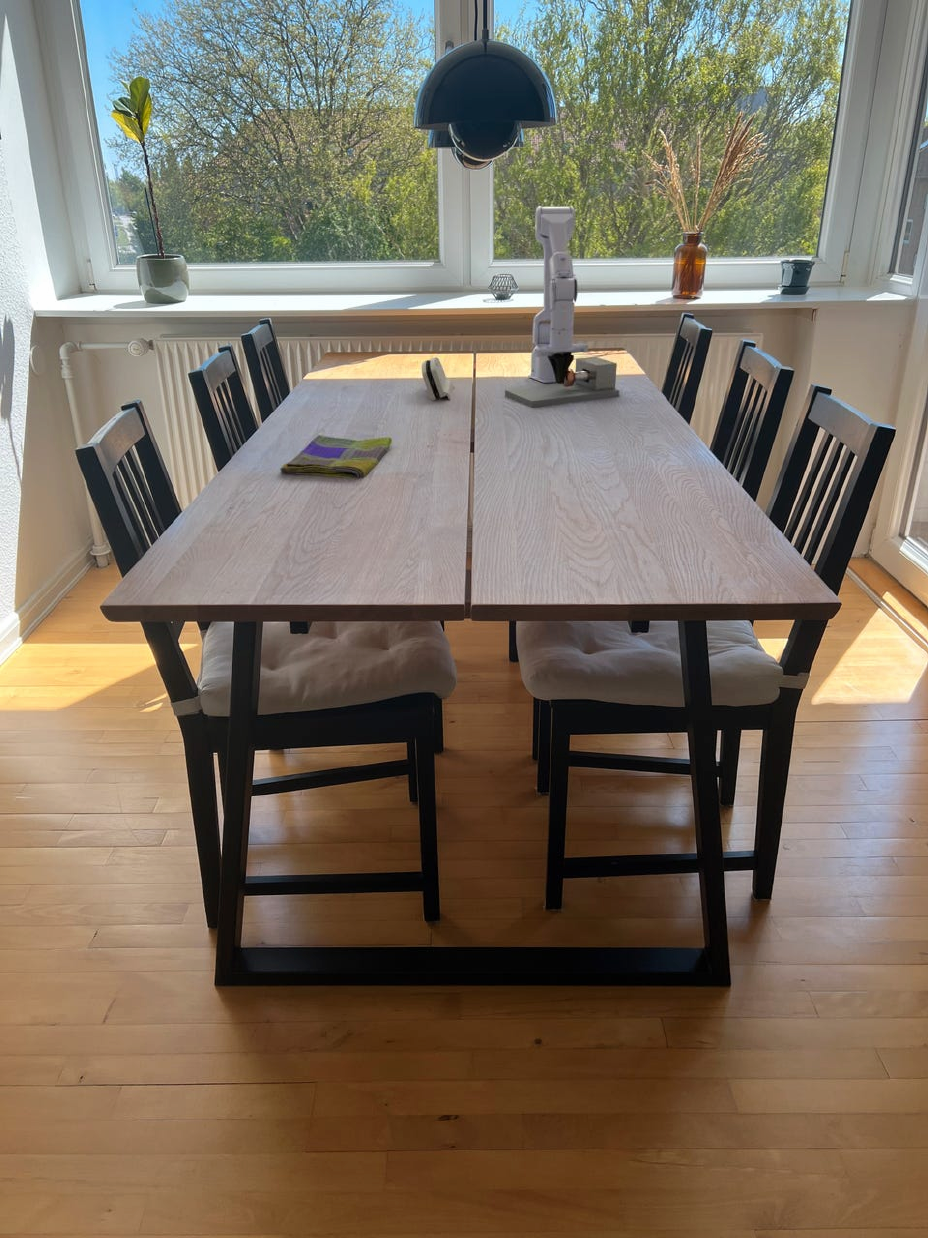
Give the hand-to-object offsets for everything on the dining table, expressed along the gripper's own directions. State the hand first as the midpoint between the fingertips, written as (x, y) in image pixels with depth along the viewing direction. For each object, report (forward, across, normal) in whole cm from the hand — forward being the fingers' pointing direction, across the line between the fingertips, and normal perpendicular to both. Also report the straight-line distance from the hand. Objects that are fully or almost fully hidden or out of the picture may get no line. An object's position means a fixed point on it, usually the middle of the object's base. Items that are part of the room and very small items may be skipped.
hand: (559, 382), depth 240 cm
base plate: (+3, +1, 0) cm, 3 cm away
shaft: (+1, +9, 0) cm, 9 cm away
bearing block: (+2, +11, 0) cm, 11 cm away
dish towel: (+4, -69, -27) cm, 74 cm away
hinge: (+4, -26, +18) cm, 32 cm away
